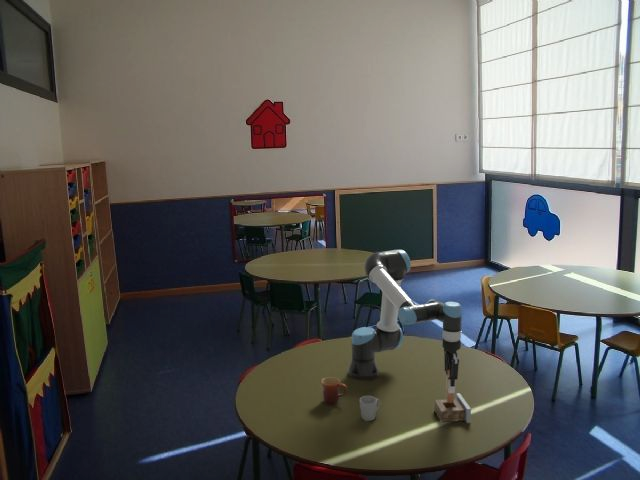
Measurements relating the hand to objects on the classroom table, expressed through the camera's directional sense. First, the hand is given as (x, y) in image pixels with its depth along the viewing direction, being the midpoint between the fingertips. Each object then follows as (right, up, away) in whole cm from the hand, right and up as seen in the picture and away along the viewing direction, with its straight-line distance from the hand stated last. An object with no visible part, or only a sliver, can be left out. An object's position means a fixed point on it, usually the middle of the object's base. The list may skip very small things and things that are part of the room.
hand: (450, 390), depth 235 cm
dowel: (0, -5, +1) cm, 5 cm away
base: (+6, -11, +3) cm, 13 cm away
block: (0, -11, +2) cm, 12 cm away
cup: (-34, -12, +3) cm, 36 cm away
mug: (-49, -10, +16) cm, 53 cm away
